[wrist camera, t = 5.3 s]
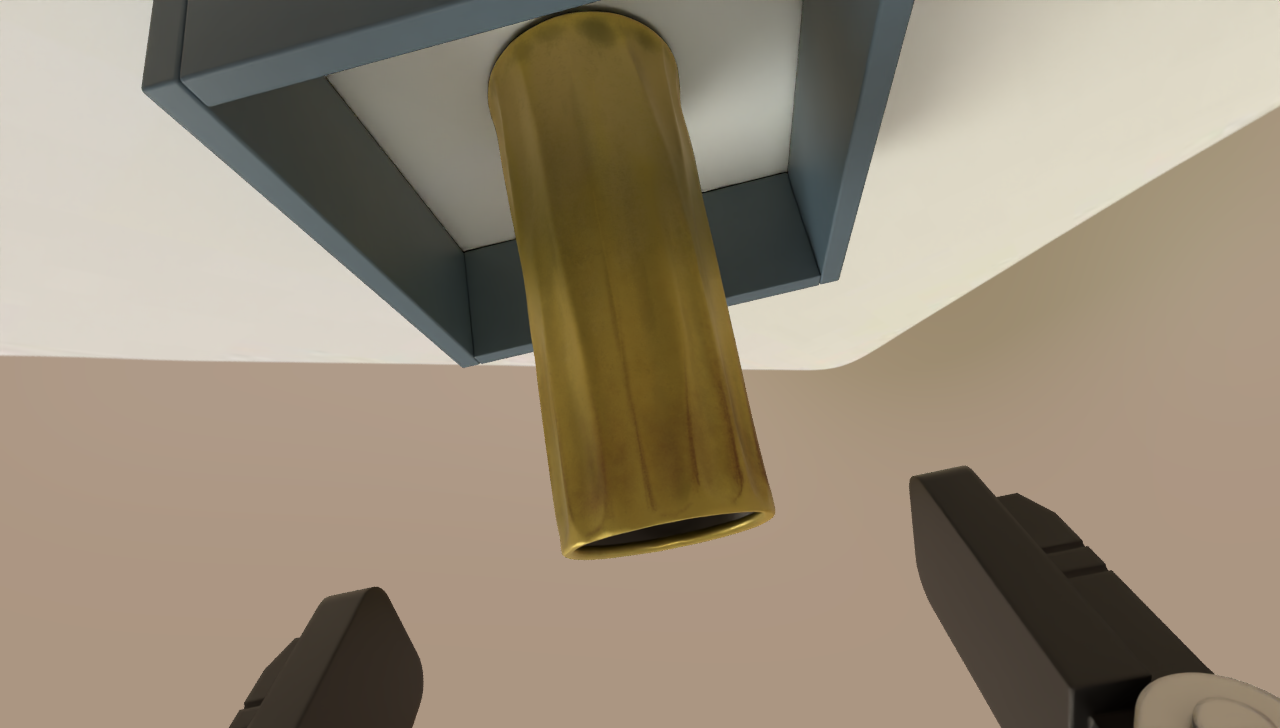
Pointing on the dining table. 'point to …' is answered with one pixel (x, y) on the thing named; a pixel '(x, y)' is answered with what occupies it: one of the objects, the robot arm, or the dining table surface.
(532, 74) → the vase
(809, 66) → the tub
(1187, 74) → the dining table surface
